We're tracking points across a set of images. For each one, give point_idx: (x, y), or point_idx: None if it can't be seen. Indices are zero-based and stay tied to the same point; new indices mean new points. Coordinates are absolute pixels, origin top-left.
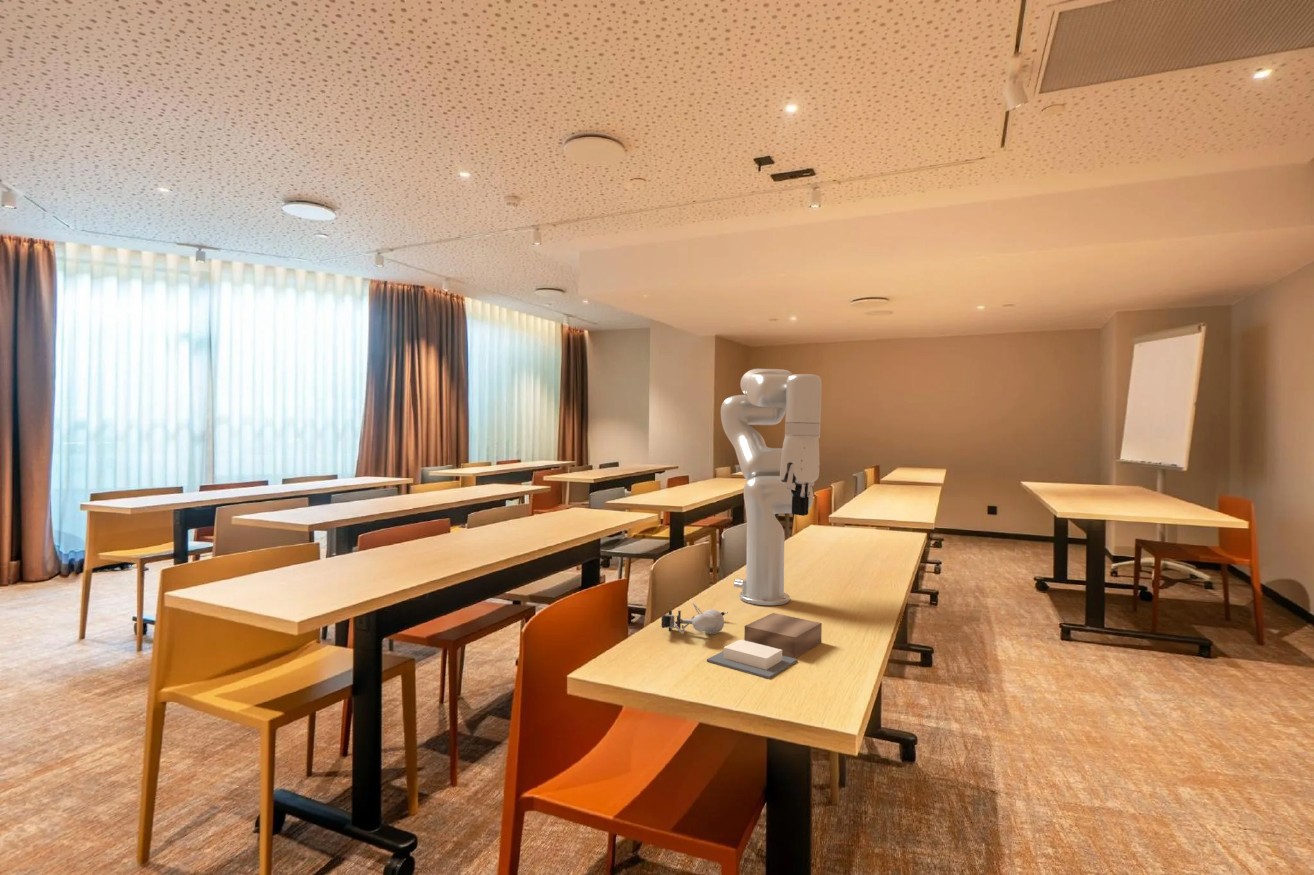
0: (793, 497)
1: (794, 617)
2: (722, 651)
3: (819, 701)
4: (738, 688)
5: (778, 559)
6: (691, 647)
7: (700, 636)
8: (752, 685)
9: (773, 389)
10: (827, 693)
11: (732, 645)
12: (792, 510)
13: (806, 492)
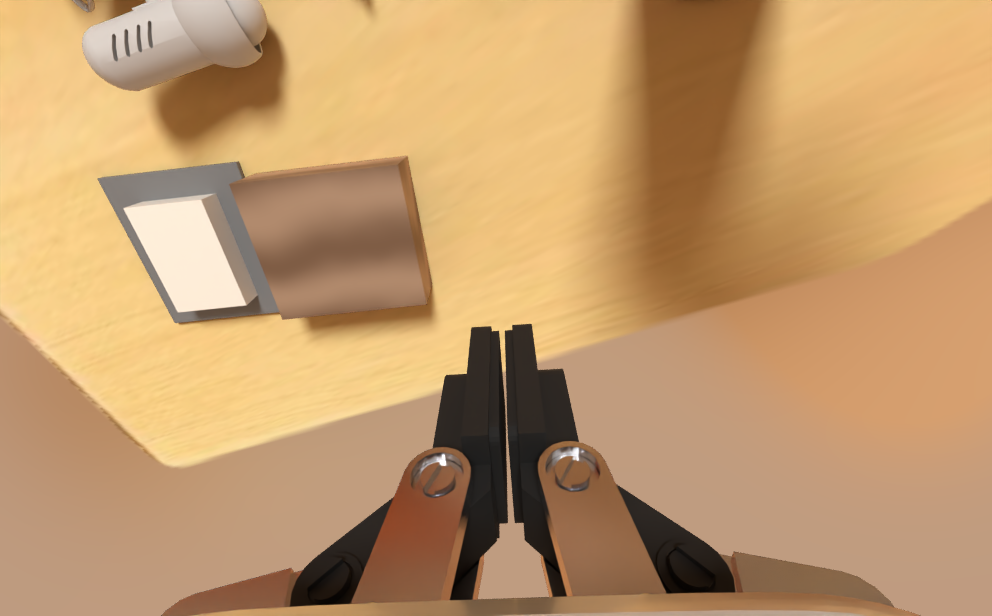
0: (462, 438)
1: (410, 234)
2: (165, 171)
3: (197, 409)
4: (94, 308)
5: None
6: None
7: None
8: (129, 316)
9: None
10: (231, 404)
11: (153, 214)
12: (471, 344)
13: (543, 568)
